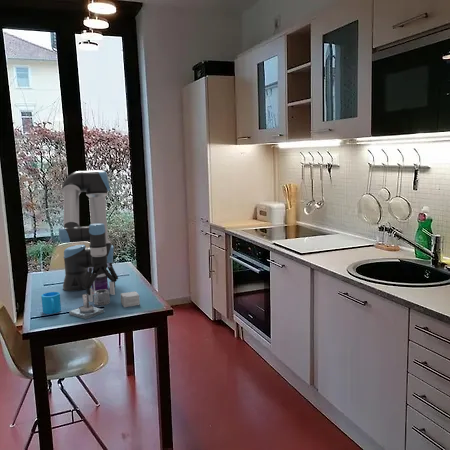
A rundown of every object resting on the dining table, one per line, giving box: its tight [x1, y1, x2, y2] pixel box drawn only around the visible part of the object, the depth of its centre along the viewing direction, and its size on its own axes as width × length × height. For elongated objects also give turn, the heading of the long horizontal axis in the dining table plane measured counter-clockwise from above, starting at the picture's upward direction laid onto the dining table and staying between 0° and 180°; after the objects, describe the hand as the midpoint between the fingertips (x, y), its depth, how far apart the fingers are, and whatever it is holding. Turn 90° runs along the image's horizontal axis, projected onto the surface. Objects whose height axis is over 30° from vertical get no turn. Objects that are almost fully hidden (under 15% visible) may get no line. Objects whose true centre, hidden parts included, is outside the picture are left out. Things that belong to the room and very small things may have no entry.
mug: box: [40, 291, 62, 315], centre depth 212 cm, size 12×8×8 cm
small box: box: [120, 290, 141, 308], centre depth 221 cm, size 8×8×5 cm
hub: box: [93, 289, 111, 306], centre depth 223 cm, size 7×7×6 cm
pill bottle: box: [91, 274, 109, 296], centre depth 237 cm, size 8×8×14 cm
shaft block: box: [68, 293, 105, 320], centre depth 208 cm, size 12×10×9 cm
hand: (101, 297), depth 223 cm, fingers open, 13 cm apart
